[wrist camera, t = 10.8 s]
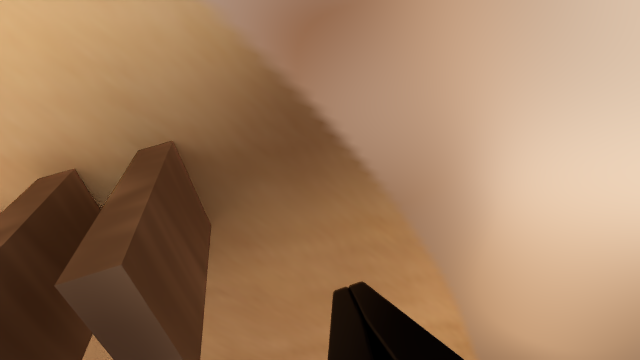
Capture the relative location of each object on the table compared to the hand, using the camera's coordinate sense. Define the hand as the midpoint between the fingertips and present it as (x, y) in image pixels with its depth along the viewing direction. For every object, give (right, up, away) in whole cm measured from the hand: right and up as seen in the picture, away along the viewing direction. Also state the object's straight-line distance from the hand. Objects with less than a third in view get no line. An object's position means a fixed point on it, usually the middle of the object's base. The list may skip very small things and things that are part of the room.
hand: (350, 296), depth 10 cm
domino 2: (-8, +3, +8) cm, 12 cm away
